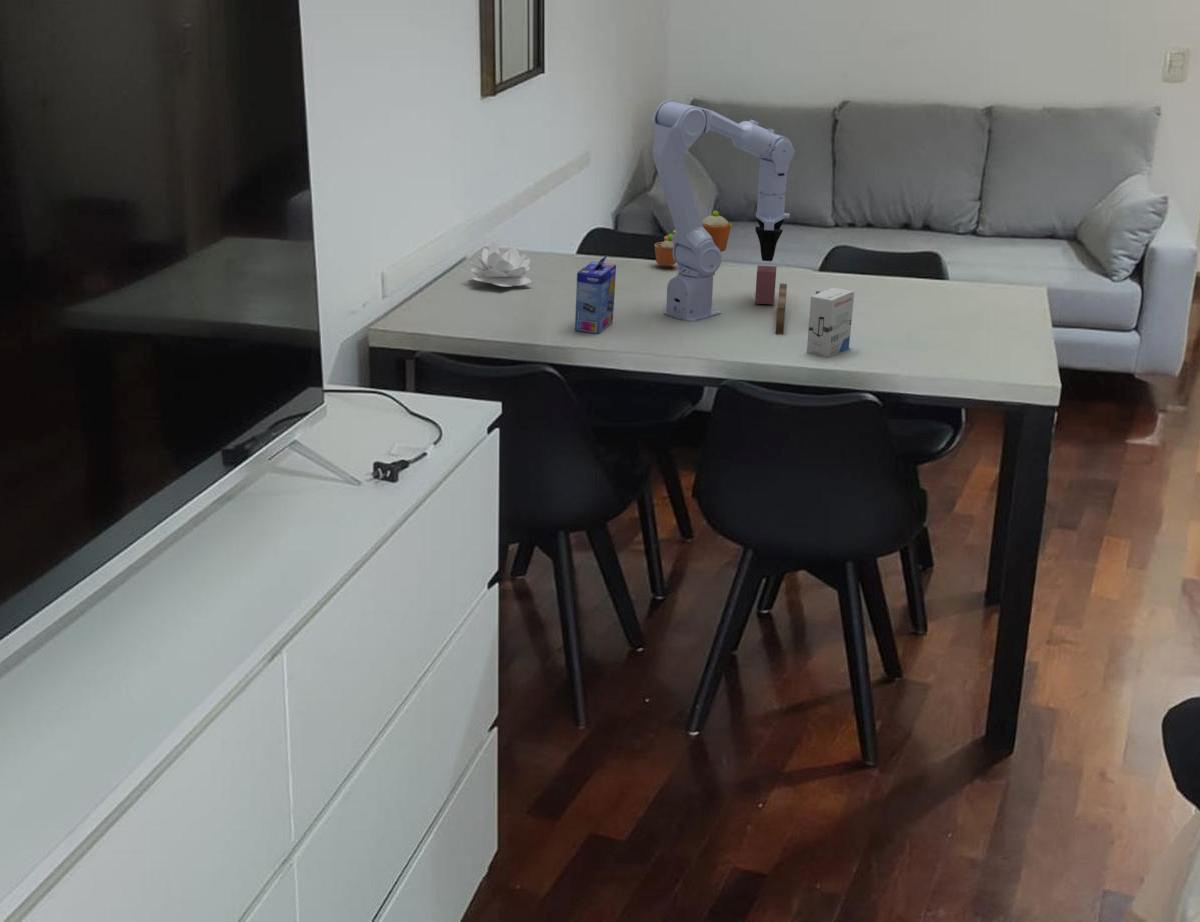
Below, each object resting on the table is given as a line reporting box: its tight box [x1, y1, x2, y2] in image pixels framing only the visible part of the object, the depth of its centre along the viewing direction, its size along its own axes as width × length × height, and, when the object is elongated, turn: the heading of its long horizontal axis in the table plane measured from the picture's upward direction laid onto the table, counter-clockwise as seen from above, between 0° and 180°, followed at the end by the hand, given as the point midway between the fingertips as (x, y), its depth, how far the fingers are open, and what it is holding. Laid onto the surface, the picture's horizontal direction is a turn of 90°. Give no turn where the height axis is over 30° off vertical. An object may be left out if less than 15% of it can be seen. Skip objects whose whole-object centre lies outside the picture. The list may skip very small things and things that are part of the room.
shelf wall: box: [775, 282, 788, 335], centre depth 297 cm, size 18×2×6 cm, turn 172°
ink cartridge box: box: [574, 254, 617, 335], centre depth 289 cm, size 10×6×14 cm, turn 162°
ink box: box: [806, 287, 855, 358], centre depth 278 cm, size 9×5×12 cm, turn 141°
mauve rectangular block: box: [754, 264, 778, 305], centre depth 311 cm, size 5×4×7 cm
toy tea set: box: [654, 210, 733, 266], centre depth 346 cm, size 26×16×10 cm, turn 163°
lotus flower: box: [468, 241, 533, 288], centre depth 321 cm, size 14×15×9 cm
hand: (767, 256), depth 308 cm, fingers open, 7 cm apart
